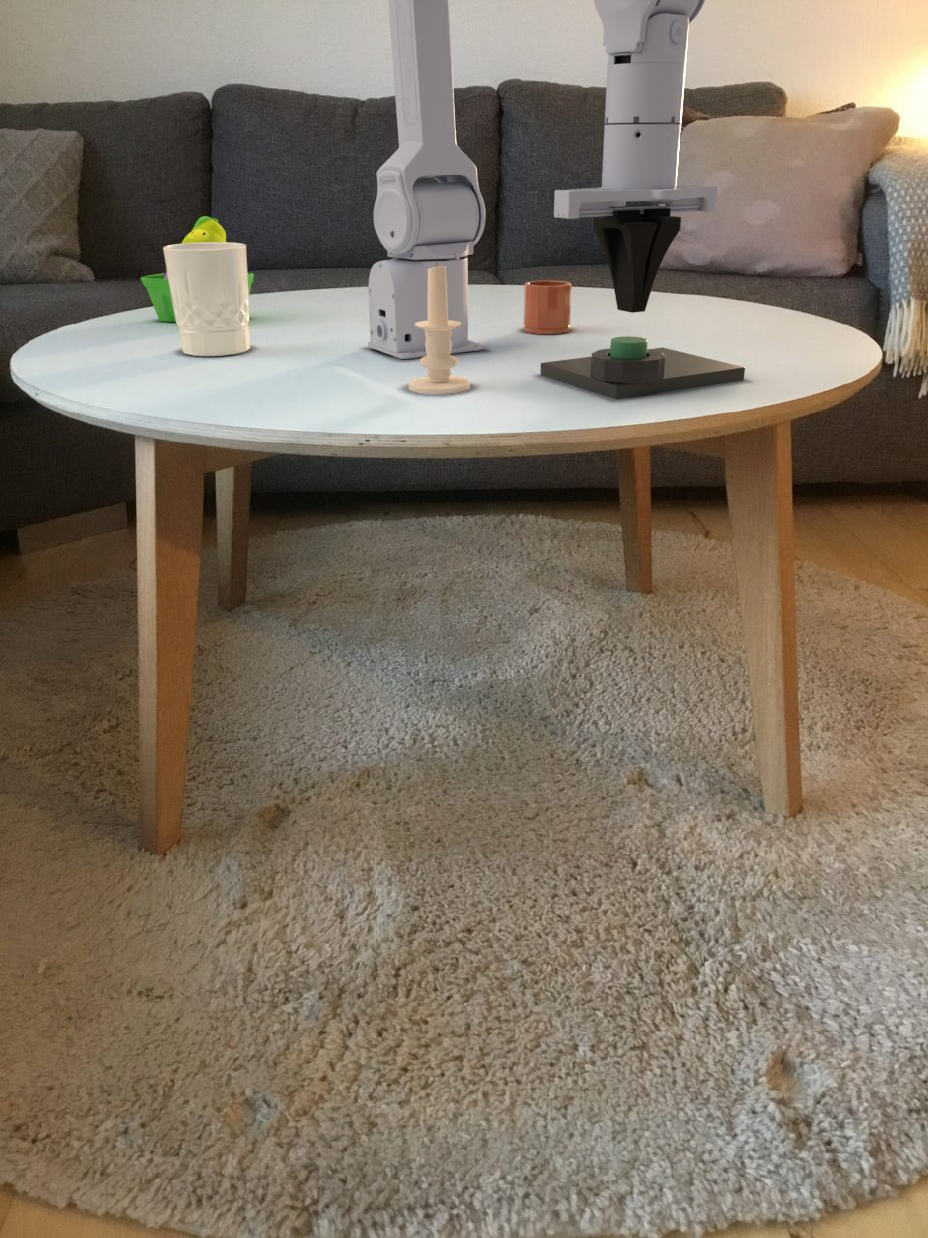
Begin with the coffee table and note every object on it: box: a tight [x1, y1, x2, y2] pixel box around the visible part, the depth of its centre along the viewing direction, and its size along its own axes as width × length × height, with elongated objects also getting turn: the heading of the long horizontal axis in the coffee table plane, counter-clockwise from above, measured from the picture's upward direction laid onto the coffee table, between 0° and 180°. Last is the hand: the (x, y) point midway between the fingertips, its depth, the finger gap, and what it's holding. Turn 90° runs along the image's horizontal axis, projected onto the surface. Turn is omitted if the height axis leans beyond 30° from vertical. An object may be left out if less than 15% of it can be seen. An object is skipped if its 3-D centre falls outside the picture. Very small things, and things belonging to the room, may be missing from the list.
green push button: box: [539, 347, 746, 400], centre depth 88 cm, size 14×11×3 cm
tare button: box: [609, 335, 648, 359], centre depth 83 cm, size 3×3×2 cm
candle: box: [408, 260, 471, 395], centre depth 84 cm, size 5×5×10 cm
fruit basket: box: [140, 215, 255, 323], centre depth 118 cm, size 11×9×11 cm
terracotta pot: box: [523, 280, 572, 335], centre depth 111 cm, size 5×5×5 cm
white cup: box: [162, 241, 251, 357], centre depth 100 cm, size 8×8×10 cm
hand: (631, 310), depth 82 cm, fingers closed
